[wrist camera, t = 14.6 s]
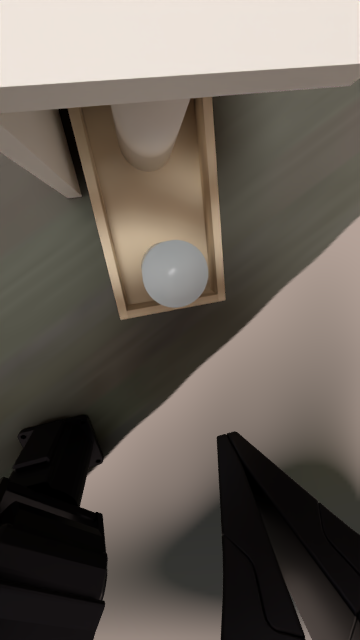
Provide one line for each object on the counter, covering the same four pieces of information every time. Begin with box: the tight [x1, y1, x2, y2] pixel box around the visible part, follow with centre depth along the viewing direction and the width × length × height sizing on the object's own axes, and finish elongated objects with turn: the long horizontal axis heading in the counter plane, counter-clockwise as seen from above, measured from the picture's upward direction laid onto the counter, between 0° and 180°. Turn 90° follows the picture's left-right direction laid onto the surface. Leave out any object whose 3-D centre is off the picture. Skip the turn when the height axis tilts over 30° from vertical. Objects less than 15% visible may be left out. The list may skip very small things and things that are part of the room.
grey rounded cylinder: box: [141, 240, 208, 308], centre depth 15 cm, size 4×4×6 cm
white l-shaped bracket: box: [0, 0, 360, 198], centre depth 10 cm, size 8×12×12 cm, turn 99°
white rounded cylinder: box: [111, 98, 190, 172], centre depth 12 cm, size 4×4×6 cm
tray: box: [68, 97, 226, 320], centre depth 16 cm, size 15×9×2 cm, turn 8°
